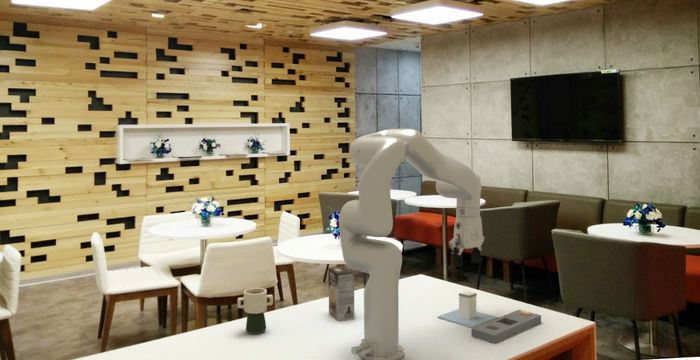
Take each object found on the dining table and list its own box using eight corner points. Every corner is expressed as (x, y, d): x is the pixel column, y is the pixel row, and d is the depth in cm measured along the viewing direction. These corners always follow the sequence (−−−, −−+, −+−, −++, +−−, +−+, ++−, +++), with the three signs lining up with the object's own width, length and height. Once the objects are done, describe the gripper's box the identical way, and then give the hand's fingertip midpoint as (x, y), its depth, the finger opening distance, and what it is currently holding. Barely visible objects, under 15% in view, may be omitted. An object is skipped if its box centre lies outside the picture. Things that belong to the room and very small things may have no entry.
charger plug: (469, 319, 180) (469, 295, 179) (458, 316, 183) (458, 292, 182) (476, 316, 183) (476, 293, 182) (466, 313, 186) (466, 290, 185)
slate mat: (472, 328, 173) (472, 327, 173) (437, 317, 183) (437, 316, 183) (497, 318, 182) (497, 316, 182) (463, 308, 193) (463, 307, 193)
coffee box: (328, 313, 189) (327, 267, 188) (345, 311, 192) (345, 265, 190) (337, 321, 181) (336, 273, 179) (355, 319, 183) (355, 271, 182)
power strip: (494, 343, 160) (494, 333, 160) (471, 336, 166) (471, 326, 166) (541, 322, 177) (541, 313, 177) (518, 316, 183) (518, 307, 183)
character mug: (271, 326, 177) (270, 286, 176) (275, 333, 170) (274, 292, 169) (237, 330, 174) (235, 289, 173) (239, 337, 167) (238, 295, 166)
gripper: (461, 215, 171) (459, 270, 172) (493, 211, 183) (491, 263, 184) (441, 213, 177) (440, 266, 178) (474, 209, 189) (473, 259, 190)
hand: (466, 264), depth 181 cm, fingers open, 9 cm apart
